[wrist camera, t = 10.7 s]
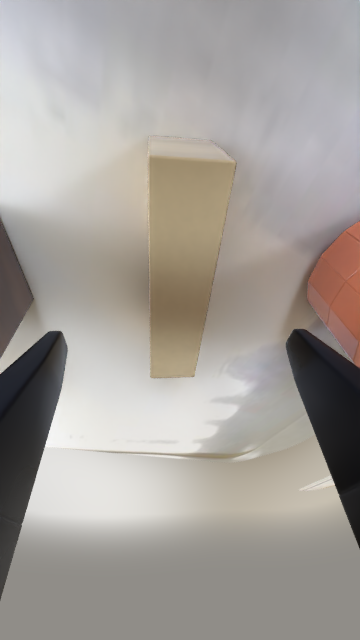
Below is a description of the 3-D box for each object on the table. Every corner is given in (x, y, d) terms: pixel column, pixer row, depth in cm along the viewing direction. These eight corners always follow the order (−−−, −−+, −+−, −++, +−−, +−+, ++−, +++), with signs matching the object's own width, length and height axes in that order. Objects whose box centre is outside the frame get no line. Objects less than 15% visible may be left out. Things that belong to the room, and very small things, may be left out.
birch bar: (187, 329, 18) (194, 377, 15) (150, 329, 17) (150, 378, 14) (212, 140, 10) (237, 161, 7) (148, 135, 10) (147, 154, 7)
